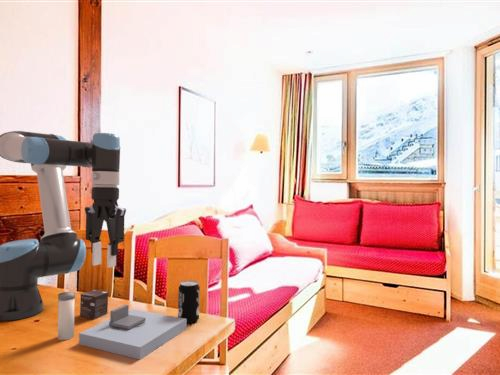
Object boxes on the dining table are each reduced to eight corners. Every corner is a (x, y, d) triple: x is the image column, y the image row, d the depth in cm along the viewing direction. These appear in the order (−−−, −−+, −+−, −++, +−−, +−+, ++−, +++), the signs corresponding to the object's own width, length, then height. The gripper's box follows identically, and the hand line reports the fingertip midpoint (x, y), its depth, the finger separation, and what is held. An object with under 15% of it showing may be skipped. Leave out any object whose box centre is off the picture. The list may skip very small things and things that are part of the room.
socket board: (78, 344, 96) (79, 333, 96) (132, 318, 116) (132, 308, 116) (140, 359, 89) (140, 347, 89) (186, 328, 108) (186, 318, 108)
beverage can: (194, 325, 111) (195, 286, 111) (174, 323, 112) (175, 284, 112) (201, 317, 117) (202, 280, 117) (182, 316, 119) (183, 279, 119)
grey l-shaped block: (108, 325, 101) (109, 311, 101) (126, 316, 108) (126, 304, 108) (128, 329, 99) (129, 315, 99) (145, 320, 105) (145, 307, 105)
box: (79, 317, 116) (79, 294, 116) (94, 311, 122) (94, 289, 122) (94, 320, 114) (94, 296, 114) (108, 313, 119) (108, 291, 119)
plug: (53, 338, 100) (54, 294, 100) (66, 333, 103) (67, 291, 103) (65, 341, 98) (65, 297, 98) (77, 335, 102) (78, 292, 102)
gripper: (72, 185, 106) (70, 265, 107) (120, 186, 100) (119, 271, 100) (92, 185, 113) (90, 260, 114) (138, 187, 107) (137, 266, 107)
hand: (104, 265), depth 107 cm, fingers open, 5 cm apart
